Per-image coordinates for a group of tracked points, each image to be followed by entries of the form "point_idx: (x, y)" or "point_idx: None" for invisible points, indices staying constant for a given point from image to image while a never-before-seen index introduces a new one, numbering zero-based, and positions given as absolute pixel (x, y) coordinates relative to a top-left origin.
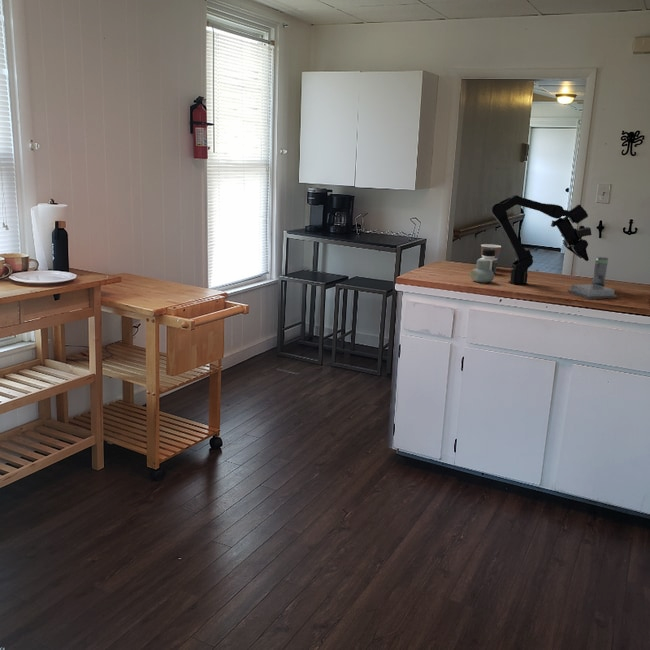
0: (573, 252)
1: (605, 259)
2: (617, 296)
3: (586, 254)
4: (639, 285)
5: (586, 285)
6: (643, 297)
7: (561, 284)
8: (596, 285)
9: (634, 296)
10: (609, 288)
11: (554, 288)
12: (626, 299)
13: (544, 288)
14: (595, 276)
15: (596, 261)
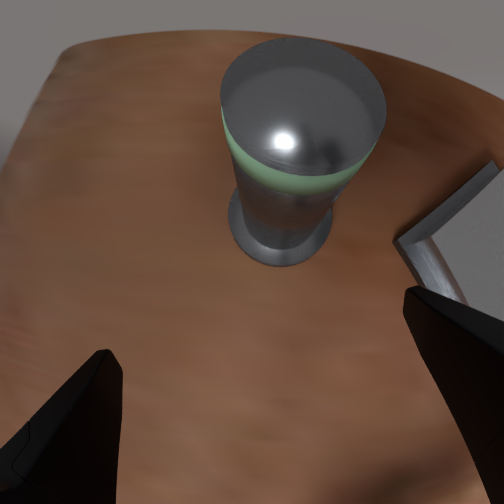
0: (113, 501)
1: (363, 75)
2: (491, 160)
3: (499, 331)
4: (84, 52)
5: (490, 295)
6: (389, 57)
7: (220, 429)
8: (464, 236)
9: (392, 80)
10: (499, 180)
11: (386, 456)
12: (478, 132)
13: (402, 491)
14: (319, 221)
15: (344, 180)
